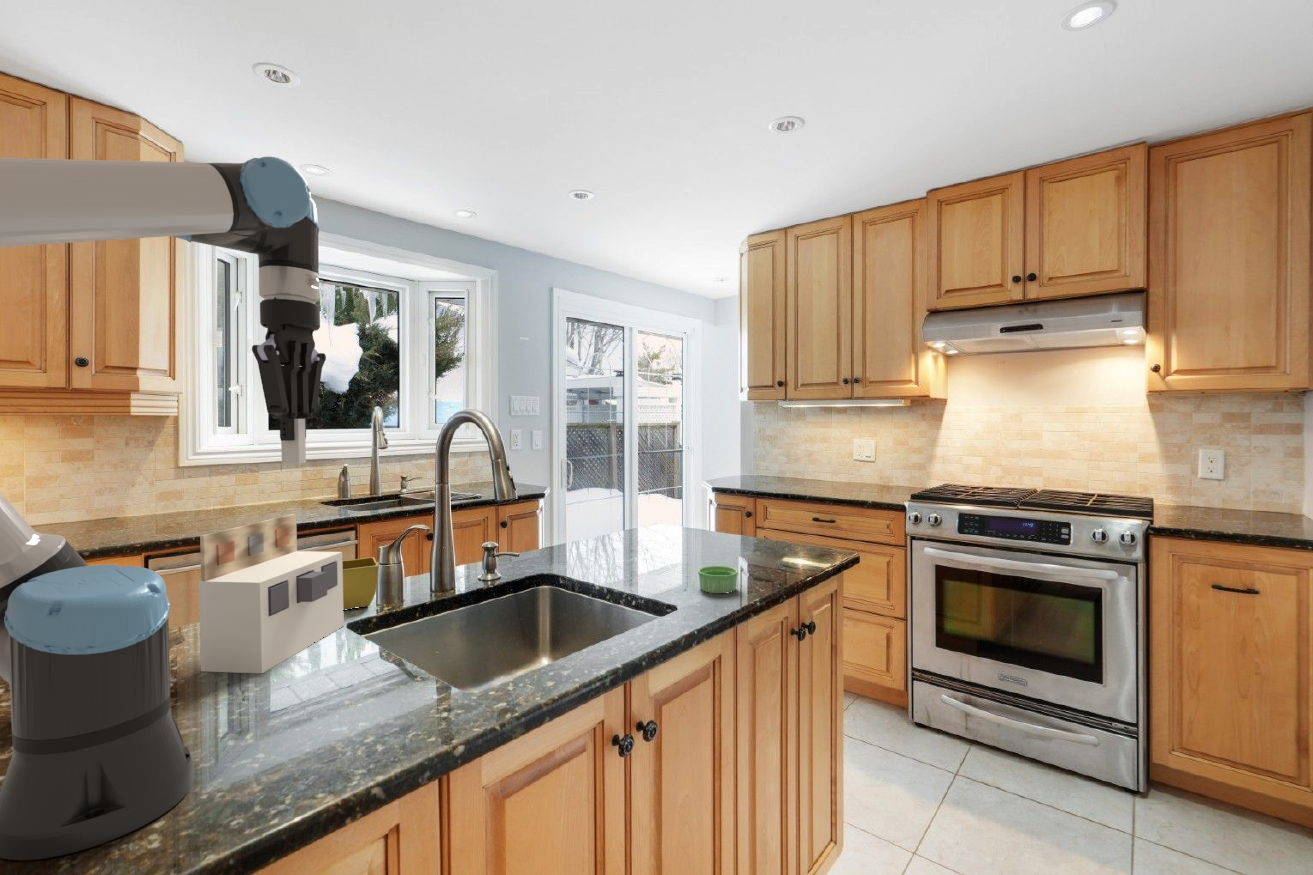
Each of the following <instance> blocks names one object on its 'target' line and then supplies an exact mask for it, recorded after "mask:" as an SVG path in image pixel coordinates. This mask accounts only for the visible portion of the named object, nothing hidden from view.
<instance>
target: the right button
mask: <svg viewBox="0 0 1313 875" xmlns="http://www.w3.org/2000/svg"><path fill="white" fill-rule="evenodd" d="M321 572H327V589H328V588H330V587H333V586H335V585H337V584H338V580H337V563H329V564H327V565H324V566H322V567H321Z"/></svg>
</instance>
